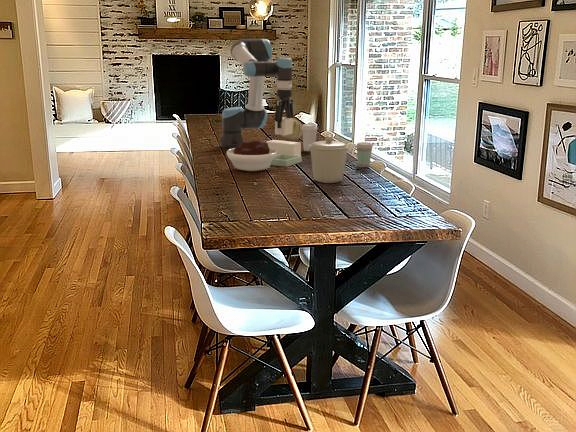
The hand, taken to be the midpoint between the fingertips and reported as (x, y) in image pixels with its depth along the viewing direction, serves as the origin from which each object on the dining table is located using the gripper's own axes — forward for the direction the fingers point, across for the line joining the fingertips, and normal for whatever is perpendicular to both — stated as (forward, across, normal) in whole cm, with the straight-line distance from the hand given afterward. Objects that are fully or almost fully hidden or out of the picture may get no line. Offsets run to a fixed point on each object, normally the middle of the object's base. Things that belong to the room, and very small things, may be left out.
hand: (284, 133), depth 327 cm
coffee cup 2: (+16, +14, -39) cm, 45 cm away
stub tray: (+16, 0, 0) cm, 16 cm away
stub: (0, 0, 0) cm, 0 cm away
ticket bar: (+16, +17, +11) cm, 26 cm away
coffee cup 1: (+16, +42, +8) cm, 46 cm away
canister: (+16, -27, -39) cm, 50 cm away
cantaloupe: (+16, +66, +34) cm, 76 cm away
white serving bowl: (+16, -24, +5) cm, 29 cm away
